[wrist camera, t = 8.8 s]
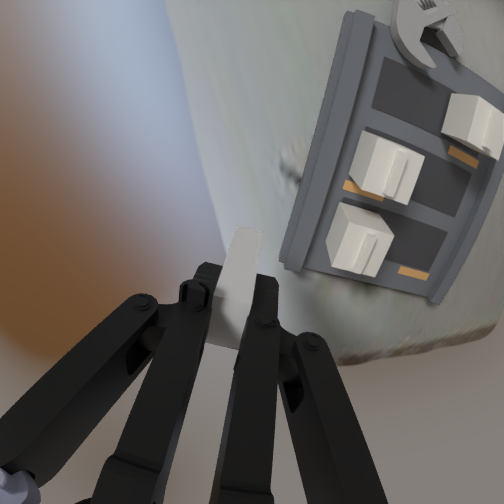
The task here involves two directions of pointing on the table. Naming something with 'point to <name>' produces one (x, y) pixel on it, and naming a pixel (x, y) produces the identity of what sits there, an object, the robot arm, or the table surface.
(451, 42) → the adjustable wrench
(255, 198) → the table surface
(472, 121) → the white notched block
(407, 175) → the white slider knob
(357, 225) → the white ridged block
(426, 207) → the switch bank
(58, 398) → the robot arm
